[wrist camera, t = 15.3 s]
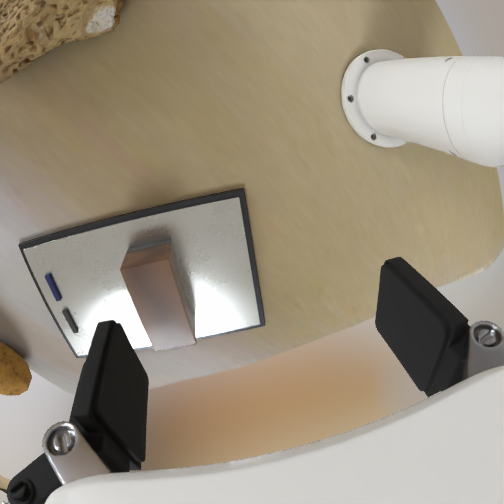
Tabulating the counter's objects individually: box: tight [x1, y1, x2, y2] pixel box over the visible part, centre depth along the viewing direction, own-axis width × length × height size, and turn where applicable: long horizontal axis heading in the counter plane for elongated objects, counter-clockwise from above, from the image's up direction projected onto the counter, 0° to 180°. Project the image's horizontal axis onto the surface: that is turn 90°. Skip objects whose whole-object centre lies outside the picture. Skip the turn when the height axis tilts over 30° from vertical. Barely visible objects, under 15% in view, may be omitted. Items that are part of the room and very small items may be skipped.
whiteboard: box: [18, 188, 265, 358], centre depth 38 cm, size 30×20×1 cm, turn 98°
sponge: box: [0, 0, 122, 83], centre depth 19 cm, size 13×8×20 cm
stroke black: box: [62, 309, 78, 333], centre depth 38 cm, size 1×4×1 cm, turn 8°
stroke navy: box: [44, 274, 62, 301], centre depth 35 cm, size 1×4×1 cm, turn 9°
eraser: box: [120, 239, 196, 351], centre depth 36 cm, size 6×12×5 cm, turn 8°
